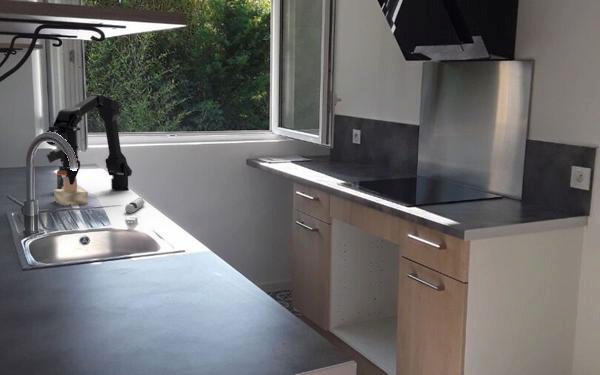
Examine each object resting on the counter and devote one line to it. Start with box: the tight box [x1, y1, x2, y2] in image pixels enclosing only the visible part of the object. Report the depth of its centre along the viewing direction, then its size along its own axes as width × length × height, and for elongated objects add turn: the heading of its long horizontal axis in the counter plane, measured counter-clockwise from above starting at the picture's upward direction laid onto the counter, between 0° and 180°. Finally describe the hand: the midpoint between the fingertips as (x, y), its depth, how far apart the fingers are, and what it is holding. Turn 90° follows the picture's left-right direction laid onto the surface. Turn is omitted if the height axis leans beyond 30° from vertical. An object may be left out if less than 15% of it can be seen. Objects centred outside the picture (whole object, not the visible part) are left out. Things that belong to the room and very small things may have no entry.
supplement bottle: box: [56, 164, 67, 189], centre depth 271 cm, size 6×6×11 cm
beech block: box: [53, 187, 89, 206], centre depth 250 cm, size 10×10×5 cm
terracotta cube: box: [64, 177, 78, 192], centre depth 249 cm, size 4×4×5 cm
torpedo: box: [124, 189, 147, 214], centre depth 241 cm, size 18×5×7 cm, turn 178°
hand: (70, 182), depth 249 cm, fingers open, 9 cm apart
